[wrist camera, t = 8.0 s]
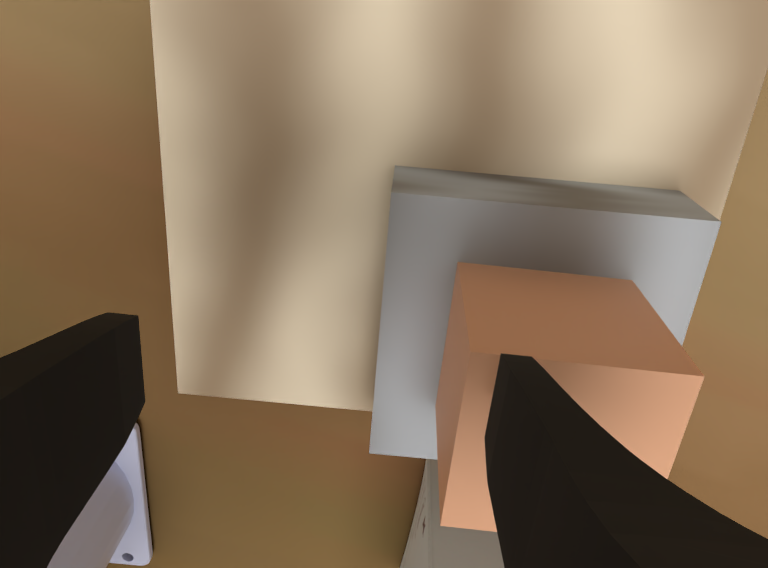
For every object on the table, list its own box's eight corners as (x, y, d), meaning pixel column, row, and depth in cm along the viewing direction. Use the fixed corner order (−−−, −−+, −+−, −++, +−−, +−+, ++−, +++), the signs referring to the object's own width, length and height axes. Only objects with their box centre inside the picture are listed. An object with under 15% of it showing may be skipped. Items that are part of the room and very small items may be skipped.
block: (435, 405, 20) (440, 525, 16) (457, 261, 18) (470, 351, 13) (591, 422, 20) (642, 547, 16) (632, 280, 18) (704, 377, 13)
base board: (186, 378, 25) (147, 444, 21) (151, -171, 17) (81, -214, 14) (642, 421, 25) (681, 494, 21) (806, -117, 17) (910, -148, 14)
